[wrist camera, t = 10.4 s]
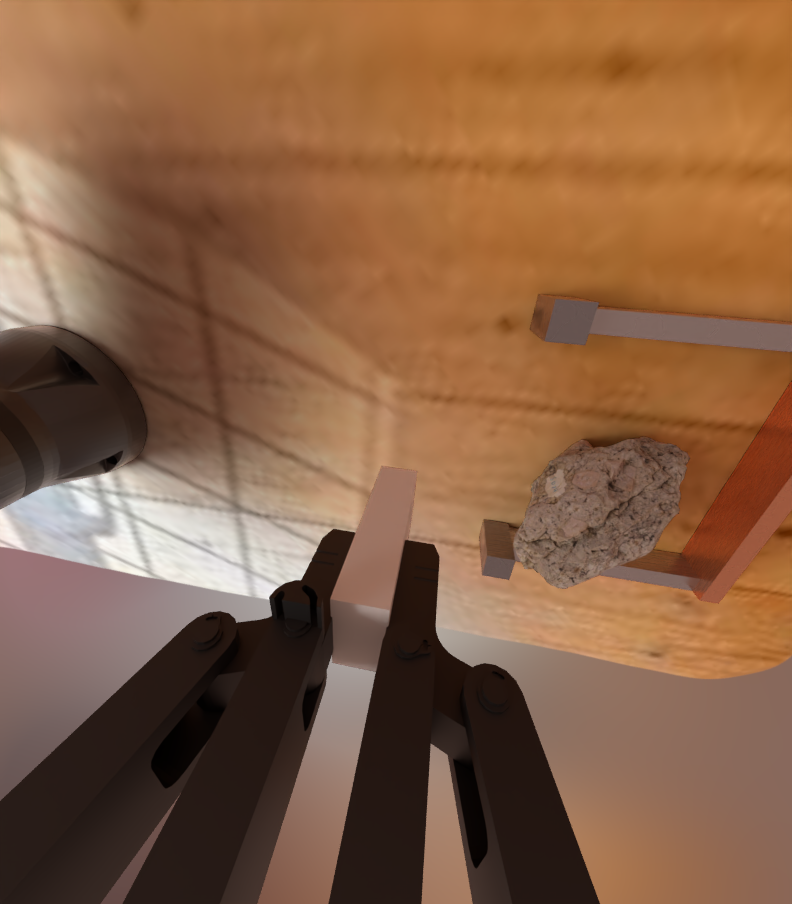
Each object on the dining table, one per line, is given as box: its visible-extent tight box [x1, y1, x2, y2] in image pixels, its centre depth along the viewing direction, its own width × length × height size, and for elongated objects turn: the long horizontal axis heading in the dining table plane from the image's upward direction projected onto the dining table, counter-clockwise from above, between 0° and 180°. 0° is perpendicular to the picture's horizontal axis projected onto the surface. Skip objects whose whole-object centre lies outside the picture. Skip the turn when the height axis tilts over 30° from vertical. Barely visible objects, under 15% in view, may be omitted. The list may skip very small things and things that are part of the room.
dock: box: [479, 294, 792, 603], centre depth 26 cm, size 20×23×5 cm
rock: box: [514, 436, 690, 589], centre depth 26 cm, size 14×10×8 cm
